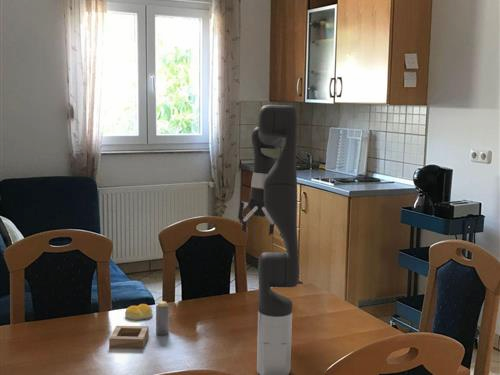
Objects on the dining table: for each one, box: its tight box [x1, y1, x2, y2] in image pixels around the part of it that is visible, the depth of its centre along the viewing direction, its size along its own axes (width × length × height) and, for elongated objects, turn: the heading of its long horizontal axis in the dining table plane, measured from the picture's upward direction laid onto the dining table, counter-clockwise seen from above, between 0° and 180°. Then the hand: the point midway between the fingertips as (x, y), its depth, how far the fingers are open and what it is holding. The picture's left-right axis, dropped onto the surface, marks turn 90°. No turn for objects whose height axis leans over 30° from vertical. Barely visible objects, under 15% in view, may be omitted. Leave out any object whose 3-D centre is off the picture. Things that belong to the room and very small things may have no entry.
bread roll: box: [124, 303, 153, 321], centre depth 201 cm, size 8×9×4 cm
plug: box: [155, 300, 170, 337], centre depth 186 cm, size 4×4×10 cm
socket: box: [108, 325, 150, 350], centre depth 180 cm, size 10×10×3 cm
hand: (257, 233), depth 202 cm, fingers open, 8 cm apart
